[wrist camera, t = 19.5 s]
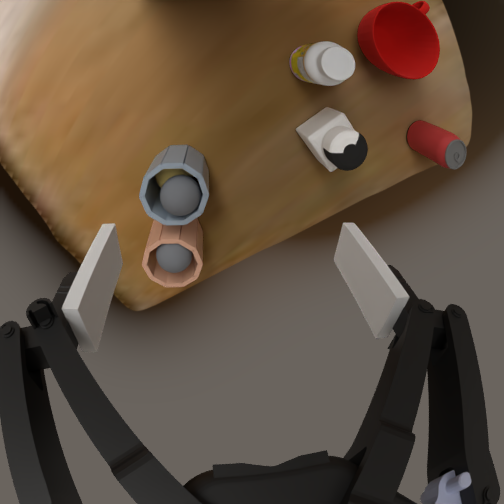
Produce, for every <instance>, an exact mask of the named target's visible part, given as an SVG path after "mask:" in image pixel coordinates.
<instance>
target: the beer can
mask: <svg viewBox="0 0 504 504" xmlns="http://www.w3.org/2000/svg"><path fill="white" fill-rule="evenodd" d="M407 140H408V143H409V146H410V147H411V148H412V149H413V150H415V151H417V152H419V153H420V154H422V155H424V156H426V157H427V158H429V159H431V160H432V161H434V162H436V163H437V164H439V165H441V166H442V167H445V168H451V169H458V168H459V167H460V166H461V165H462V164H463V163H464V160H465V158H466V146H465V144H464V142H463V141H461V140H460V139H459V138H458V137H457V136H456V135H455V134H453V133H451V132H449V131H446V130H444V129H442V128H439V127H437V126H435V125H432V124H430V123H427V122H425V121H421V120H420V121H416V122H414V123H413V124H412V125H411V126H410V127H409V130H408V133H407Z"/></svg>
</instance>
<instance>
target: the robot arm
mask: <svg viewBox="0 0 504 504" xmlns="http://www.w3.org/2000/svg"><path fill="white" fill-rule="evenodd" d="M334 262H335V264H336V266H337V267H338V269H339V271H340V273H341V274H342V276H343V278H344V280H345V282H346V284H347V285H348V287H349V289H350V291H351V292H352V294H353V296H354V298H355V300H356V302H357V304H358V305H359V307H360V309H361V311H362V313H363V315H364V317H365V319H366V320H367V323H368V325H369V326H370V328H371V331H372V332H373V334H374V336H375V338H376V339H379V338H385V337H388V336H389V335H390V333H391V331H392V329H393V330H394V332H395V333H396V335H395V337H394V339H393V340H392V342H391V343H390V346H389V347H388V349H390V351H389V354H388V357H387V360H386V363H385V366H384V369H383V372H382V375H381V377H380V380H379V383H378V386H377V388H376V391H375V393H374V396H373V398H372V401H371V404H370V406H369V408H368V411H367V413H366V416H365V418H364V420H363V423H362V425H361V427H360V429H359V432H358V434H357V436H356V438H355V440H354V442H353V444H352V446H351V448H350V449H349V451H348V452H347V453H346V455H345V456H344V458H340V457H335V456H328V453H327V450H326V451H321V452H317V453H312V454H307V455H301V456H298V457H296V458H294V459H291V460H289V461H286V462H284V463H282V464H279V465H277V466H271V467H270V466H260V465H252V464H245V463H236V464H222V465H221V464H219V465H213V470H210V471H206V472H204V473H201V474H199V475H197V476H195V477H194V478H192V479H191V480H189V481H188V482H187V483H186V484H185V485H184V486H182V485H181V484H180V483H179V482H178V481H177V480H176V479H175V478H174V477H173V476H172V475H171V474H170V473H169V472H168V471H167V470H166V469H165V468H164V466H163V465H162V464H161V463H160V462H159V461H158V460H157V459H156V458H155V457H154V456H153V455H152V453H151V452H150V451H149V450H148V449H147V448H146V447H145V446H144V445H143V444H142V442H141V441H140V440H139V439H138V438H137V436H136V435H135V434H134V433H133V431H132V430H131V429H130V428H129V426H128V425H127V424H126V423H125V421H124V420H123V419H122V417H121V416H120V415H119V413H118V412H117V411H116V410H115V408H114V407H113V406H112V404H111V403H110V401H109V400H108V398H107V397H106V396H105V394H104V393H103V391H102V390H101V388H100V387H99V385H98V384H97V382H96V381H95V379H94V378H93V376H92V375H91V373H90V371H89V370H88V368H87V367H86V365H85V363H84V362H83V360H82V358H81V357H80V355H79V353H78V352H77V346H78V344H79V346H80V348H81V350H82V351H83V352H94V353H97V351H98V346H99V343H100V338H101V335H102V331H103V327H104V323H105V320H106V316H107V313H108V309H109V306H110V302H111V299H112V296H113V292H114V289H115V286H116V283H117V280H118V277H119V274H120V271H121V268H122V265H123V262H122V258H121V253H120V248H119V242H118V237H117V231H116V226H115V224H103V225H102V226H101V228H100V230H99V232H98V234H97V236H96V237H95V239H94V241H93V243H92V245H91V247H90V249H89V251H88V253H87V255H86V257H85V259H84V261H83V263H82V265H81V267H80V269H79V271H78V272H70V273H69V274H67V275H66V277H64V279H63V280H62V282H61V284H60V287H59V289H58V290H57V293H56V295H55V297H54V299H53V301H52V302H51V301H50V300H49V299H47V298H40V299H37V300H35V301H34V302H32V303H31V304H30V305H29V307H28V308H27V311H26V315H27V318H28V320H29V321H30V323H31V325H32V326H29V327H24V328H20V326H19V324H17V322H14V321H9V322H6V323H5V324H3V325H2V326H1V327H0V418H1V425H2V432H3V438H4V443H5V449H6V454H7V459H8V463H9V467H10V471H11V475H12V479H13V483H14V486H15V490H16V493H17V496H18V500H19V503H20V504H82V501H81V499H80V497H79V494H78V492H77V489H76V487H75V485H74V482H73V479H72V477H71V474H70V471H69V468H68V466H67V463H66V460H65V457H64V454H63V450H62V447H61V444H60V441H59V437H58V434H57V430H56V426H55V422H54V419H53V414H52V410H51V406H50V401H49V397H48V392H47V386H46V381H45V375H44V369H46V368H51V370H52V372H53V374H54V376H55V378H56V380H57V382H58V384H59V386H60V388H61V390H62V392H63V394H64V396H65V397H66V399H67V401H68V403H69V405H70V407H71V408H72V410H73V412H74V413H75V415H76V417H77V418H78V420H79V422H80V423H81V425H82V426H83V428H84V430H85V431H86V433H87V435H88V436H89V438H90V439H91V441H92V442H93V444H94V445H95V447H96V448H97V449H98V451H99V452H100V454H101V455H102V457H103V458H104V459H105V461H106V462H107V463H108V465H109V466H110V468H111V471H112V473H113V475H114V476H115V477H116V479H117V480H118V481H119V483H120V484H121V485H122V486H123V488H124V489H125V490H126V491H127V492H128V494H129V495H130V496H131V497H132V498H133V499H134V501H135V502H136V503H137V504H417V503H415V502H413V501H411V500H410V499H408V498H407V497H405V496H403V495H402V494H400V493H398V492H397V490H398V487H399V485H400V482H401V480H402V477H403V475H404V472H405V469H406V466H407V463H408V460H409V458H410V455H411V452H412V449H413V445H414V442H415V434H413V433H412V428H413V425H414V421H415V418H416V414H417V410H418V407H419V403H420V399H421V395H422V390H423V385H424V381H425V377H426V372H428V392H429V442H428V461H427V478H428V485H427V487H426V488H425V491H424V492H423V493H422V495H421V498H420V500H421V502H422V503H423V504H497V502H498V500H499V496H500V487H499V483H498V479H497V475H496V471H495V468H494V464H493V461H492V458H491V455H490V451H489V442H488V429H487V418H486V408H485V400H484V393H483V387H482V381H481V375H480V370H479V365H478V360H477V355H476V351H475V346H474V342H473V338H472V334H471V330H470V326H469V322H468V319H467V315H466V313H465V311H464V310H463V309H462V308H461V307H459V306H457V305H454V304H450V305H448V307H447V308H446V310H445V311H440V310H435V309H434V307H433V306H432V305H431V304H430V303H429V302H427V301H426V300H422V299H418V298H417V296H416V295H415V293H414V292H413V291H412V289H411V288H410V286H409V285H408V284H407V283H406V281H405V279H404V278H403V277H402V276H401V274H400V273H399V271H398V270H396V269H395V268H394V267H393V266H391V265H386V263H385V262H384V261H383V259H382V258H381V256H380V255H379V254H378V253H377V251H376V250H375V249H374V247H373V246H372V245H371V244H370V242H369V241H368V240H367V238H366V237H365V236H364V234H363V233H362V232H361V231H360V229H359V228H358V227H357V226H356V224H355V223H343V226H342V230H341V233H340V237H339V241H338V245H337V249H336V252H335V256H334Z"/></svg>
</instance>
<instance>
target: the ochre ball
mask: <svg viewBox="0 0 504 504" xmlns="http://www.w3.org/2000/svg"><path fill="white" fill-rule="evenodd" d="M175 175H186V176H189V177H191V178H192V175H191V174H190V173H188V172H187V171H185V170H184V169H182V168H178V169H162V170H161V171H160V172H158V173H157V174H156V175H155V178H156V181H157V183H158V185H159V186H160V187H161V188H162V186H163V184H164V183H165V182H166V181H167V180H168V179H169V178H171V177H173V176H175Z"/></svg>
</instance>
